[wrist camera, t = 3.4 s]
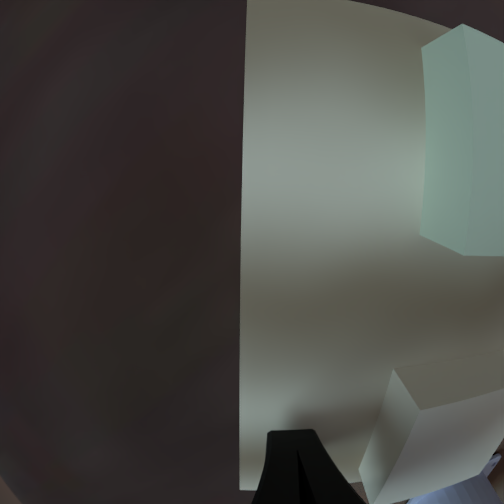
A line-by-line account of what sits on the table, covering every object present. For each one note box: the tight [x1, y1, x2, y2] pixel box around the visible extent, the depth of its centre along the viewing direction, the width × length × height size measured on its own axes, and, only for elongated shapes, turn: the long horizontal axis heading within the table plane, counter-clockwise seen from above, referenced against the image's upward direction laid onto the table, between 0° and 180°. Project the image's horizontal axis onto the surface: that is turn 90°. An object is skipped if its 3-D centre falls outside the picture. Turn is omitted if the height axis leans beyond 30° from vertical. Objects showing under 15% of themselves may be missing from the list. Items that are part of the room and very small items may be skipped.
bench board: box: [240, 0, 504, 490], centre depth 10 cm, size 16×13×4 cm
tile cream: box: [358, 350, 504, 504], centre depth 8 cm, size 5×5×2 cm
